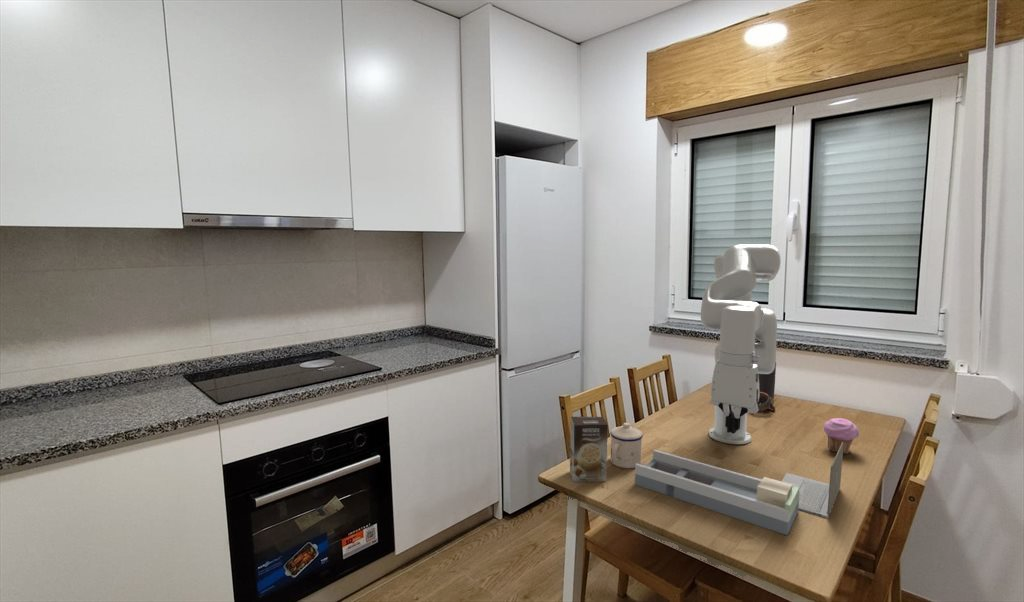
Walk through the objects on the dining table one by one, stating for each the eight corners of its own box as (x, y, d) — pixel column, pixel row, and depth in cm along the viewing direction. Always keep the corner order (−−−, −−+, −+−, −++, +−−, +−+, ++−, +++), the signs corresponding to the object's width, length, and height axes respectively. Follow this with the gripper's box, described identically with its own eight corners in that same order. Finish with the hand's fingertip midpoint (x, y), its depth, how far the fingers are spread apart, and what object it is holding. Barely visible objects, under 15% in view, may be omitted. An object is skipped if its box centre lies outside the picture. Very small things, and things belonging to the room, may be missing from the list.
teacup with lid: (619, 452, 151) (620, 415, 149) (647, 461, 145) (648, 423, 143) (598, 466, 142) (599, 427, 140) (627, 476, 136) (628, 435, 134)
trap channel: (654, 468, 141) (654, 446, 140) (798, 511, 118) (799, 486, 117) (635, 484, 131) (635, 461, 131) (787, 535, 109) (789, 507, 108)
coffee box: (573, 482, 133) (573, 425, 131) (569, 471, 139) (569, 416, 137) (607, 481, 133) (608, 424, 131) (602, 470, 139) (602, 415, 137)
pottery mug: (783, 415, 182) (778, 399, 179) (759, 427, 182) (754, 410, 179) (762, 397, 193) (758, 381, 190) (740, 408, 193) (735, 392, 190)
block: (762, 496, 119) (764, 476, 118) (791, 504, 115) (792, 484, 115) (756, 506, 114) (757, 486, 114) (785, 516, 111) (786, 495, 110)
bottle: (758, 400, 198) (761, 350, 195) (752, 394, 204) (755, 347, 202) (776, 400, 196) (779, 351, 194) (770, 395, 203) (773, 347, 201)
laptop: (786, 475, 136) (789, 429, 135) (840, 489, 128) (844, 441, 127) (769, 501, 123) (772, 451, 121) (828, 520, 115) (833, 466, 113)
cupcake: (819, 450, 151) (821, 419, 149) (825, 442, 157) (827, 411, 156) (854, 459, 145) (857, 426, 143) (859, 450, 151) (862, 418, 150)
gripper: (774, 359, 116) (769, 433, 119) (709, 350, 125) (706, 418, 128) (766, 367, 110) (761, 445, 113) (698, 356, 119) (695, 428, 122)
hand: (732, 431), depth 120 cm, fingers closed
